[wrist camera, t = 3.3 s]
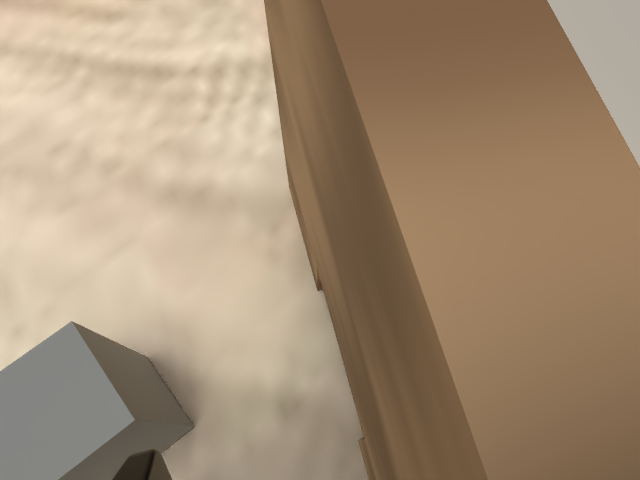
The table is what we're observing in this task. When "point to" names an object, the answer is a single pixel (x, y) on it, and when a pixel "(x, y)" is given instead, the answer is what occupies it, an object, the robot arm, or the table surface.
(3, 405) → the charcoal rail
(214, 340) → the table surface
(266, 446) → the table surface
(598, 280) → the walnut plate
